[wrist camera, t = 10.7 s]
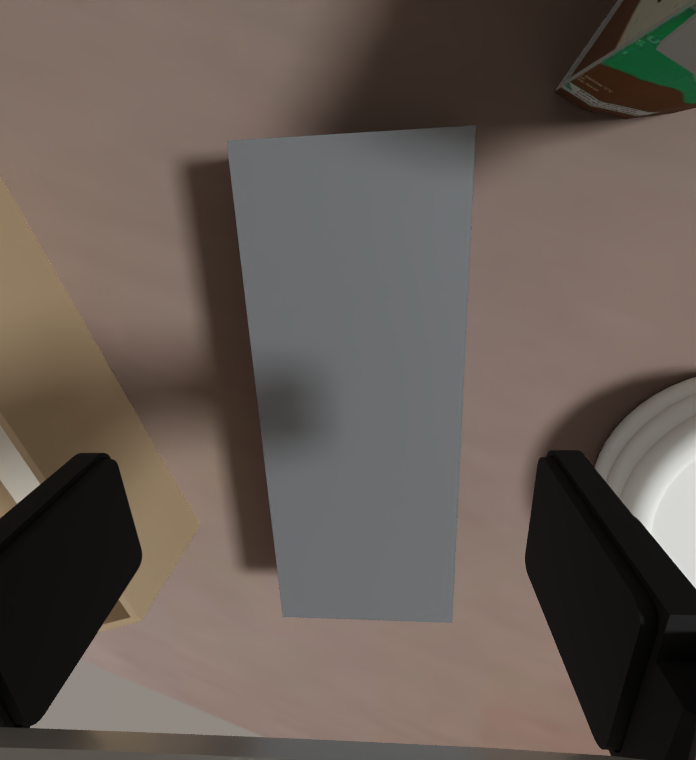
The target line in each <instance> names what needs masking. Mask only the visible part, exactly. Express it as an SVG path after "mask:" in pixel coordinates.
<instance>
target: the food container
mask: <svg viewBox="0 0 696 760" xmlns="http://www.w3.org/2000/svg"><path fill="white" fill-rule="evenodd" d="M554 92H556V93H557V94H559V95H561V96H562V97H564V98H565V99H567V100H569V101H570V102H572V103H573V104H575V105H577V106H578V107H580V108H582V109H584V110H589V111H593V112H598V113H602V114H607V115H611V116H616V117H621V118H625V119H629V118H637V117H645V116H652V115H660V114H668V113H675V112H679V111H683V110H688V109H692V108H696V0H618V1H617V2H616V3H615V5H614V6H613V8H612V9H611V11H610V12H609V14H608V15H607V16H606V18H605V19H604V21H603V22H602V24H601V25H600V26H599V28H598V29H597V31H596V32H595V34H594V35H593V36H592V38H591V39H590V41H589V42H588V44H587V45H586V47H585V48H584V49H583V51H582V52H581V54H580V55H579V57H578V58H577V59H576V61H575V62H574V64H573V65H572V67H571V68H570V69H569V71H568V72H567V74H566V75H565V77H564V78H563V80H562V81H561V82H560V84H559V85H558V87H557V88H556V90H555V91H554Z"/></svg>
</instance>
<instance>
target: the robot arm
mask: <svg viewBox="0 0 696 760" xmlns="http://www.w3.org/2000/svg"><path fill="white" fill-rule="evenodd" d="M141 561H142V549H141V545H140V542H139V538H138V535H137V531H136V527H135V524H134V520H133V517H132V513H131V509H130V506H129V502H128V499H127V495H126V491H125V488H124V484H123V481H122V477H121V473H120V470H119V466H118V464H117V462H116V461H115V460H113V459H111V457H110V456H109V455H108V454H106V453H78V454H76V455H75V456H73V457H72V458H71V459H70V460H69V461H67V462H66V463H65V464H64V465H63V466H62V467H60V468H59V469H58V470H57V471H56V472H54V473H53V474H52V475H51V476H50V477H48V478H47V479H46V480H45V481H44V482H43V483H41V484H40V485H39V486H38V487H37V488H35V489H34V490H33V491H32V492H31V493H29V494H28V495H27V496H26V497H25V498H24V499H22V500H21V501H20V502H19V503H18V504H16V505H15V506H14V507H13V508H12V509H11V510H9V511H8V512H7V513H6V514H5V515H3V516H2V517H1V518H0V760H696V589H695V587H694V586H693V585H692V584H691V582H690V581H689V580H688V579H687V578H686V576H685V575H684V574H683V573H682V572H681V570H680V569H679V568H678V567H677V565H676V564H675V563H674V562H673V561H672V559H671V558H670V557H669V556H668V555H667V553H666V552H665V551H664V550H663V548H662V547H661V546H660V545H659V544H658V542H657V541H656V540H655V539H654V537H653V536H652V535H651V534H650V533H649V531H648V530H647V529H646V528H645V527H644V525H643V524H642V523H641V522H640V521H639V520H638V519H637V518H636V517H635V516H633V515H632V513H631V512H630V511H629V510H628V508H627V507H626V506H625V505H624V504H623V502H622V501H621V500H620V499H619V497H618V496H617V495H616V494H615V492H614V491H613V490H612V489H611V488H610V486H609V485H608V484H607V483H606V481H605V480H604V479H603V478H602V477H601V475H600V474H599V473H598V472H597V470H596V469H595V468H594V467H593V466H592V464H591V463H590V462H589V461H588V459H587V458H586V457H585V456H584V454H583V453H582V452H580V451H578V450H551V451H549V452H548V454H547V457H541V458H540V459H539V461H538V466H537V474H536V481H535V488H534V495H533V503H532V510H531V517H530V524H529V531H528V539H527V546H526V553H525V564H526V570H527V573H528V576H529V578H530V581H531V583H532V586H533V588H534V591H535V593H536V596H537V598H538V601H539V603H540V606H541V608H542V611H543V613H544V615H545V618H546V620H547V623H548V625H549V628H550V630H551V633H552V635H553V638H554V640H555V643H556V645H557V648H558V650H559V653H560V655H561V658H562V660H563V662H564V665H565V667H566V670H567V672H568V675H569V677H570V680H571V682H572V685H573V687H574V690H575V692H576V695H577V697H578V700H579V702H580V704H581V707H582V709H583V712H584V714H585V717H586V719H587V722H588V724H589V727H590V729H591V732H592V734H593V737H594V739H595V741H596V743H597V744H598V746H599V747H600V748H601V749H605V750H609V751H610V754H611V756H603V755H588V754H573V753H558V752H543V751H529V750H514V749H499V748H479V747H458V746H437V745H417V744H396V743H375V742H355V741H334V740H312V739H289V738H265V737H242V736H218V735H195V734H169V733H145V732H121V731H120V732H118V731H91V730H64V729H37V728H30V726H31V725H34V724H36V723H37V722H38V721H39V720H40V719H41V718H42V717H43V715H44V714H45V713H46V711H47V710H48V708H49V706H50V705H51V703H52V702H53V700H54V699H55V697H56V696H57V694H58V693H59V691H60V689H61V688H62V686H63V685H64V683H65V681H66V680H67V679H68V677H69V676H70V674H71V672H72V671H73V669H74V668H75V666H76V665H77V663H78V662H79V660H80V659H81V657H82V655H83V654H84V652H85V651H86V649H87V648H88V646H89V645H90V643H91V642H92V640H93V639H94V637H95V635H96V634H97V632H98V631H99V629H100V628H101V626H102V625H103V623H104V622H105V620H106V618H107V617H108V615H109V614H110V612H111V611H112V609H113V608H114V606H115V605H116V603H117V601H118V600H119V598H120V597H121V595H122V594H123V592H124V591H125V589H126V588H127V586H128V584H129V583H130V581H131V580H132V578H133V577H134V575H135V574H136V572H137V571H138V569H139V567H140V565H141Z"/></svg>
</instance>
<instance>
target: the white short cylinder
mask: <svg viewBox="0 0 696 760" xmlns="http://www.w3.org/2000/svg"><path fill="white" fill-rule="evenodd" d="M595 469H596V470H597V472H598V473H599V474H600V475H601V477H602V478H603V479H604V480H605V481H606V483H607V484H608V485H609V486H610V488H611V489H612V490H613V491H614V492H615V494H616V495H617V496H618V497H619V499H620V500H621V501H622V502H623V504H624V505H625V506H626V507H627V508H628V510H629V511H630V512H631V513H632V515H633V516H635V517H636V518H637V519H638V520H639V521H640V522H641V523H642V524H643V525H644V527H645V528H646V529H647V530H648V531H649V533H650V534H651V535H652V536H653V537H654V539H655V540H656V541H657V542H658V544H659V545H660V546H661V547H662V548H663V550H664V551H665V552H666V553H667V555H668V556H669V557H670V558H671V559H672V561H673V562H674V563H675V564H676V565H677V567H678V568H679V569H680V570H681V572H682V573H683V574H684V575H685V576H686V578H687V579H688V580H689V581H690V582H691V584H692V585H693V586H694V587H695V589H696V377H694V378H691V379H687V380H685V381H682V382H680V383H677V384H675V385H672V386H670V387H668V388H666V389H664V390H663V391H661V392H659V393H657V394H655V395H653V396H652V397H650V398H649V399H648V400H646V401H645V402H643V403H642V404H640V405H639V406H638V407H637V408H635V409H634V410H633V411H632V412H631V413H630V414H628V415H627V416H626V417H625V418H624V419H623V420H622V421H621V423H620V424H619V425H618V426H617V427H616V428H615V429H614V431H613V432H612V433H611V435H610V436H609V438H608V439H607V440H606V442H605V444H604V446H603V448H602V450H601V451H600V453H599V456H598V459H597V461H596V464H595Z"/></svg>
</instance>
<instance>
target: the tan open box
mask: <svg viewBox="0 0 696 760" xmlns="http://www.w3.org/2000/svg"><path fill="white" fill-rule="evenodd" d="M78 453H106V454H108V455H109V456H110V457H111V459H113V460H115V461H116V462H117V464H118V466H119V470H120V473H121V477H122V481H123V484H124V488H125V491H126V495H127V499H128V502H129V506H130V509H131V513H132V517H133V520H134V524H135V527H136V531H137V535H138V538H139V542H140V545H141V549H142V561H141V565H140V567H139V569H138V571H137V572H136V574H135V575H134V577H133V578H132V580H131V581H130V583H129V584H128V586H127V588H126V589H125V591H124V592H123V594H122V595H121V597H120V598H119V600H118V601H117V603H116V605H115V606H114V608H113V609H112V611H111V612H110V614H109V615H108V617H107V618H106V620H105V622H104V623H103V625H102V626H101V628H100V629H99V631H98V632H101V631H105V630H109V629H113V628H117V627H121V626H125V625H129V624H133V623H137V622H141V621H142V619H143V618H144V616H145V614H146V613H147V611H148V610H149V608H150V606H151V605H152V603H153V601H154V600H155V598H156V597H157V595H158V593H159V592H160V590H161V588H162V587H163V585H164V583H165V582H166V580H167V579H168V577H169V575H170V574H171V572H172V570H173V569H174V567H175V566H176V564H177V562H178V561H179V559H180V557H181V556H182V554H183V552H184V551H185V549H186V548H187V546H188V544H189V543H190V541H191V539H192V538H193V536H194V535H195V533H196V531H197V530H198V528H199V526H200V524H199V522H198V520H197V519H196V517H195V515H194V513H193V512H192V510H191V508H190V506H189V505H188V503H187V501H186V499H185V498H184V496H183V494H182V492H181V491H180V489H179V487H178V485H177V484H176V482H175V480H174V478H173V477H172V475H171V473H170V471H169V470H168V468H167V466H166V464H165V463H164V461H163V459H162V457H161V456H160V454H159V452H158V450H157V449H156V447H155V445H154V444H153V442H152V440H151V438H150V437H149V435H148V433H147V431H146V430H145V428H144V426H143V424H142V423H141V421H140V419H139V417H138V416H137V414H136V412H135V410H134V409H133V407H132V405H131V403H130V402H129V400H128V398H127V396H126V395H125V393H124V391H123V389H122V388H121V386H120V384H119V382H118V381H117V379H116V377H115V375H114V374H113V372H112V370H111V368H110V367H109V365H108V363H107V361H106V360H105V358H104V356H103V354H102V353H101V351H100V349H99V347H98V346H97V344H96V342H95V340H94V339H93V337H92V335H91V333H90V332H89V330H88V328H87V326H86V325H85V323H84V321H83V319H82V318H81V316H80V314H79V312H78V311H77V309H76V307H75V305H74V304H73V302H72V300H71V298H70V297H69V295H68V293H67V291H66V290H65V288H64V286H63V284H62V283H61V281H60V279H59V277H58V276H57V274H56V272H55V270H54V269H53V267H52V265H51V263H50V262H49V260H48V258H47V257H46V255H45V253H44V251H43V250H42V248H41V246H40V244H39V243H38V241H37V239H36V237H35V236H34V234H33V232H32V230H31V229H30V227H29V225H28V223H27V222H26V220H25V218H24V216H23V215H22V213H21V211H20V209H19V208H18V206H17V204H16V202H15V201H14V199H13V197H12V195H11V194H10V192H9V190H8V188H7V187H6V185H5V183H4V181H3V180H2V178H1V176H0V518H1V517H2V516H3V515H5V514H6V513H7V512H8V511H9V510H11V509H12V508H13V507H14V506H15V505H16V504H18V503H19V502H20V501H21V500H22V499H24V498H25V497H26V496H27V495H28V494H29V493H31V492H32V491H33V490H34V489H35V488H37V487H38V486H39V485H40V484H41V483H43V482H44V481H45V480H46V479H47V478H48V477H50V476H51V475H52V474H53V473H54V472H56V471H57V470H58V469H59V468H60V467H62V466H63V465H64V464H65V463H66V462H67V461H69V460H70V459H71V458H72V457H73V456H75V455H76V454H78Z"/></svg>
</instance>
